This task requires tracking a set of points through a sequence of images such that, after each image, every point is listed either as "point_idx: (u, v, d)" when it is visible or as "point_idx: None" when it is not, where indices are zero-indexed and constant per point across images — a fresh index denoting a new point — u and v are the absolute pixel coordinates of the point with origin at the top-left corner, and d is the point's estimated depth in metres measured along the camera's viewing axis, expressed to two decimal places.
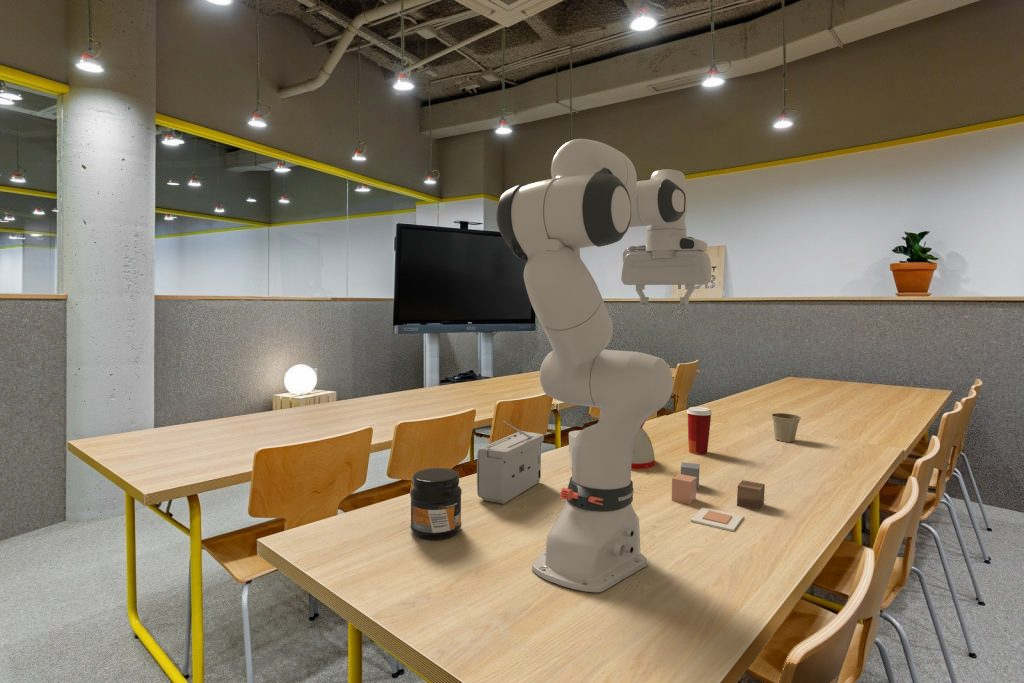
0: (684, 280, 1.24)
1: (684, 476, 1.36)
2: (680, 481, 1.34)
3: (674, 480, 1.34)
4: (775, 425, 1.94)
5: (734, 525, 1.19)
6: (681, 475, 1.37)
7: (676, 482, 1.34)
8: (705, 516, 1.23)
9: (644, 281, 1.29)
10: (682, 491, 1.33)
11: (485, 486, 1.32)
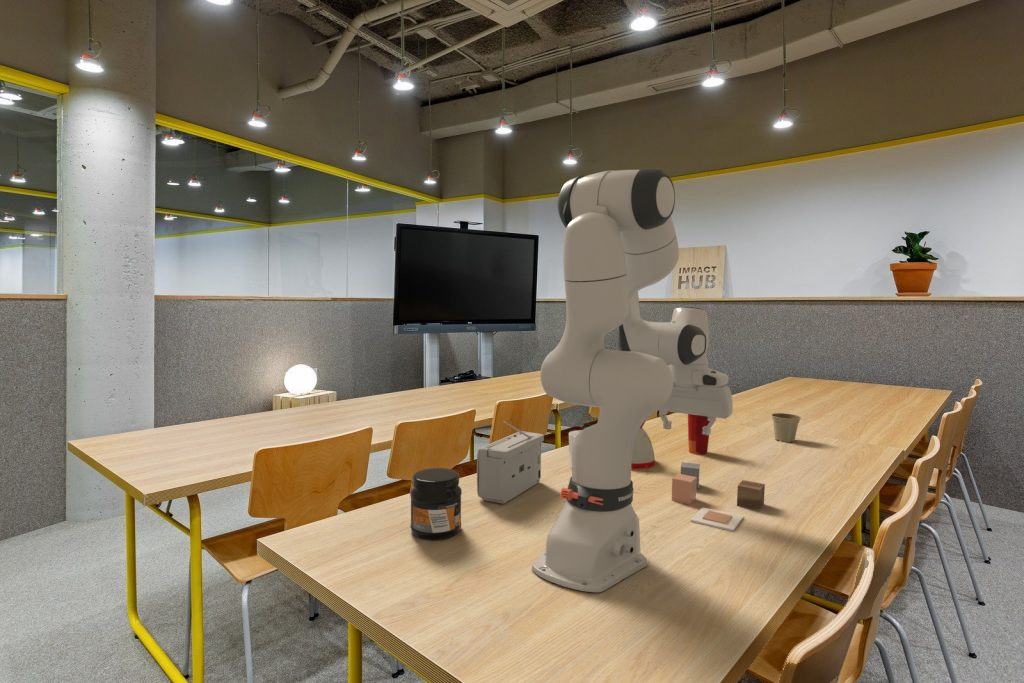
0: (706, 413, 1.30)
1: (684, 476, 1.36)
2: (680, 480, 1.34)
3: (674, 480, 1.34)
4: (775, 425, 1.94)
5: (734, 525, 1.19)
6: (681, 475, 1.37)
7: (676, 482, 1.34)
8: (705, 516, 1.23)
9: (667, 408, 1.35)
10: (682, 491, 1.33)
11: (485, 486, 1.32)
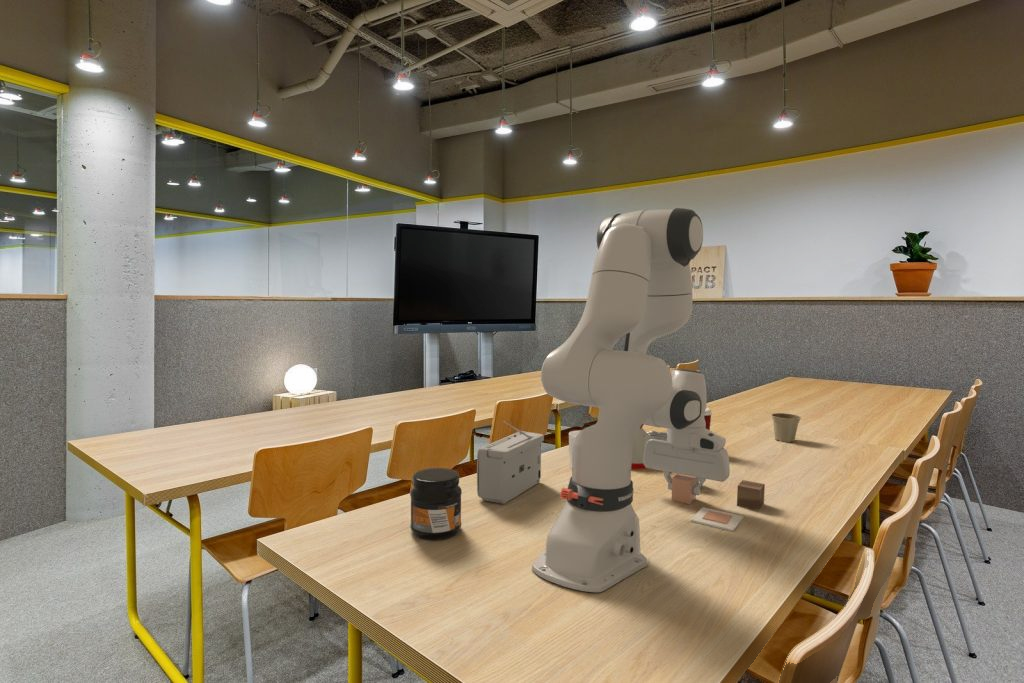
0: (703, 475, 1.31)
1: (684, 476, 1.36)
2: (680, 480, 1.34)
3: (674, 480, 1.34)
4: (775, 425, 1.94)
5: (734, 525, 1.19)
6: (681, 475, 1.37)
7: (676, 481, 1.34)
8: (705, 516, 1.23)
9: (665, 468, 1.36)
10: (682, 491, 1.33)
11: (485, 486, 1.32)
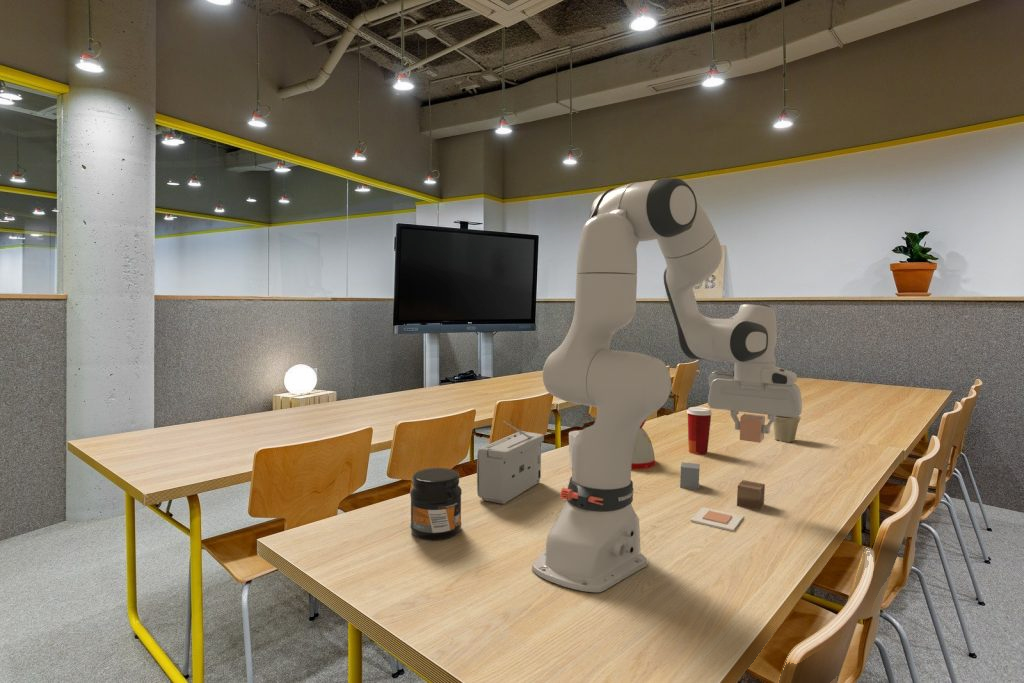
0: (775, 412, 1.27)
1: (751, 415, 1.32)
2: (749, 418, 1.30)
3: (743, 418, 1.31)
4: (775, 425, 1.94)
5: (734, 525, 1.19)
6: (748, 414, 1.33)
7: (745, 420, 1.30)
8: (705, 516, 1.23)
9: (732, 408, 1.32)
10: (751, 429, 1.30)
11: (485, 486, 1.32)
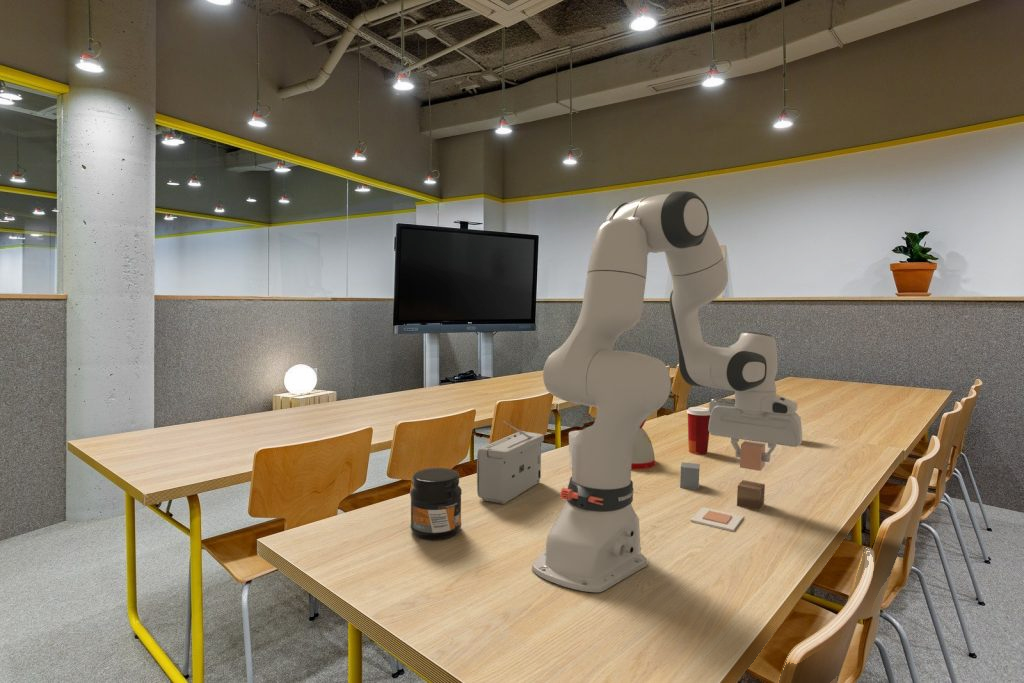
0: (775, 440, 1.27)
1: (752, 442, 1.33)
2: (750, 446, 1.30)
3: (743, 446, 1.31)
4: None
5: (734, 525, 1.19)
6: (749, 442, 1.33)
7: (745, 448, 1.31)
8: (705, 516, 1.23)
9: (733, 435, 1.32)
10: (752, 458, 1.30)
11: (485, 486, 1.32)
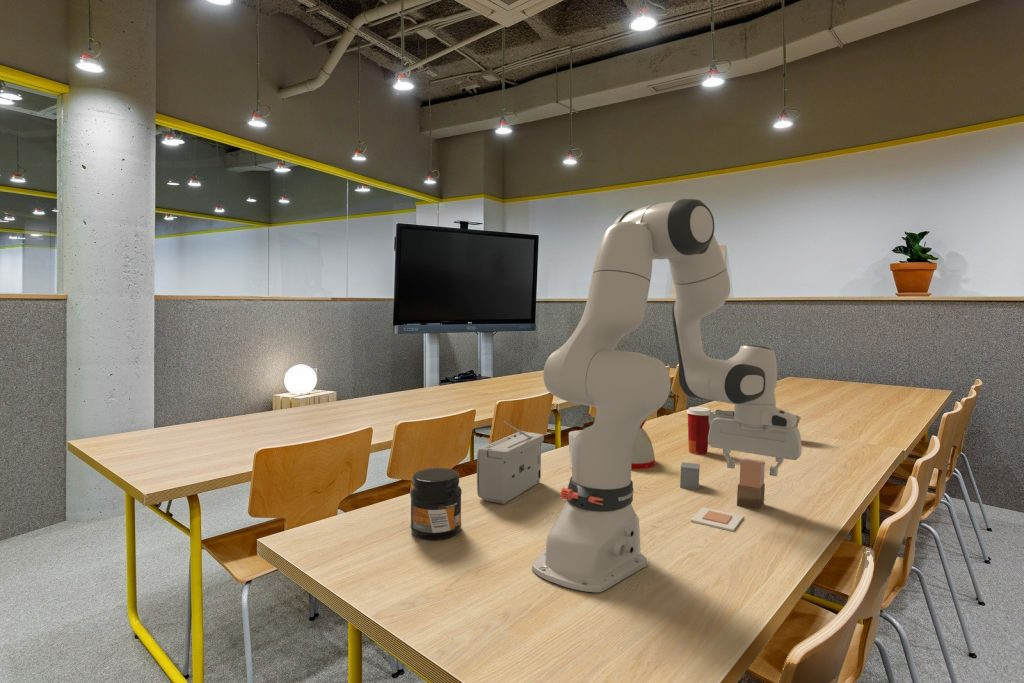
0: (774, 453, 1.27)
1: (751, 460, 1.33)
2: (749, 464, 1.30)
3: (742, 464, 1.31)
4: None
5: (734, 525, 1.19)
6: (748, 459, 1.34)
7: (745, 466, 1.31)
8: (705, 516, 1.23)
9: (732, 448, 1.32)
10: (751, 475, 1.30)
11: (485, 486, 1.32)
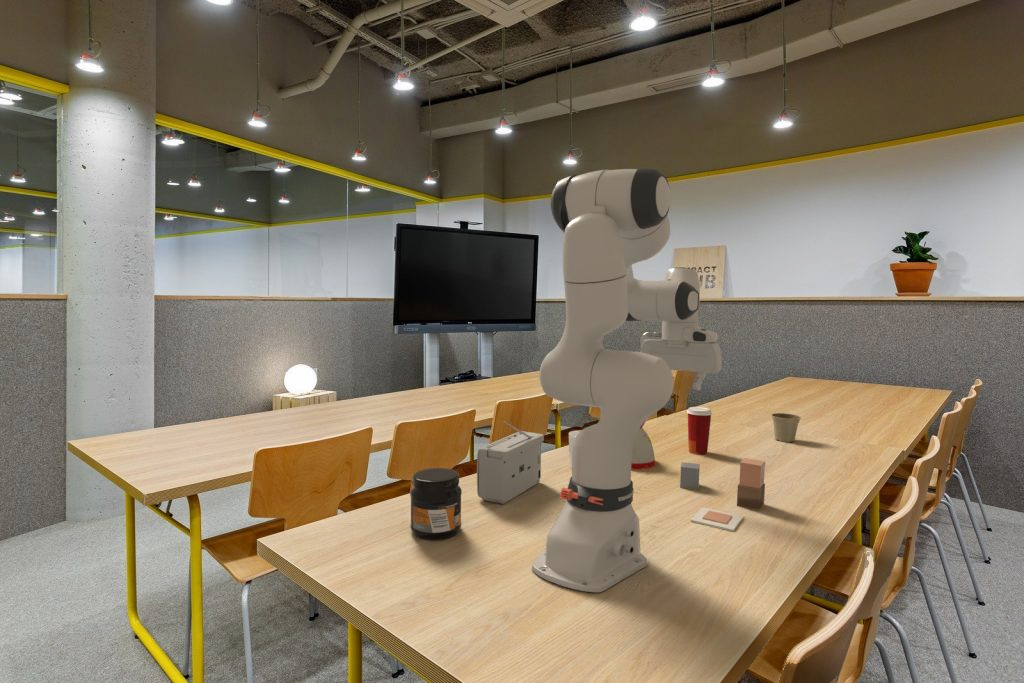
0: (696, 368, 1.36)
1: (751, 460, 1.33)
2: (749, 464, 1.30)
3: (742, 464, 1.31)
4: (775, 425, 1.94)
5: (734, 525, 1.19)
6: (748, 459, 1.34)
7: (745, 466, 1.31)
8: (705, 516, 1.23)
9: None
10: (751, 475, 1.30)
11: (485, 486, 1.32)
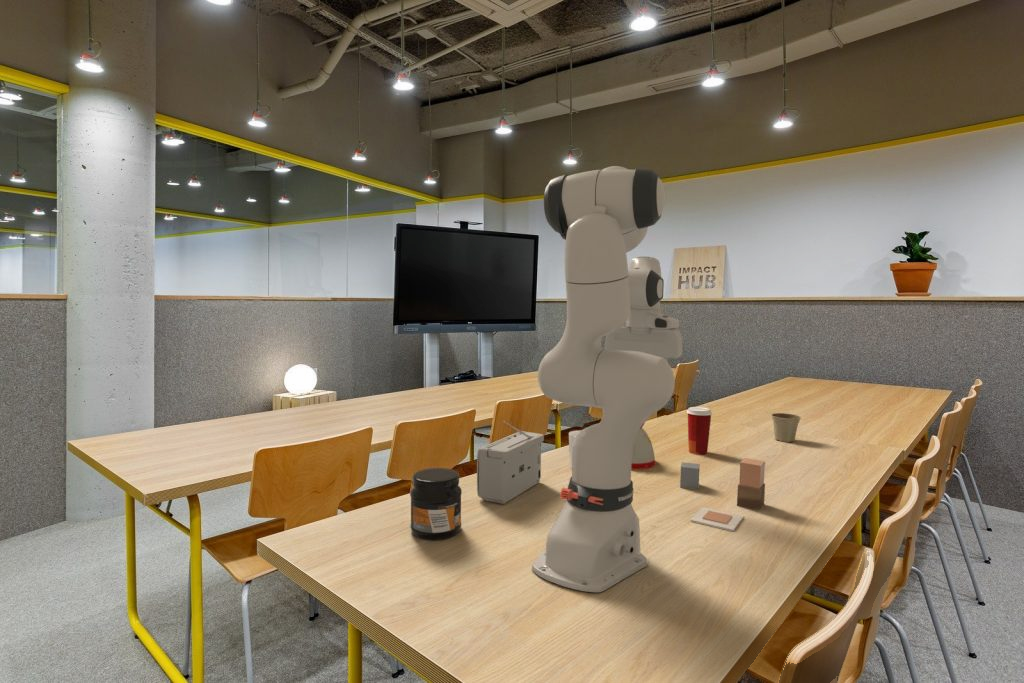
0: (658, 354, 1.42)
1: (751, 460, 1.33)
2: (749, 464, 1.30)
3: (742, 464, 1.31)
4: (775, 425, 1.94)
5: (734, 525, 1.19)
6: (748, 459, 1.34)
7: (744, 466, 1.31)
8: (705, 516, 1.23)
9: None
10: (751, 475, 1.30)
11: (485, 486, 1.32)
